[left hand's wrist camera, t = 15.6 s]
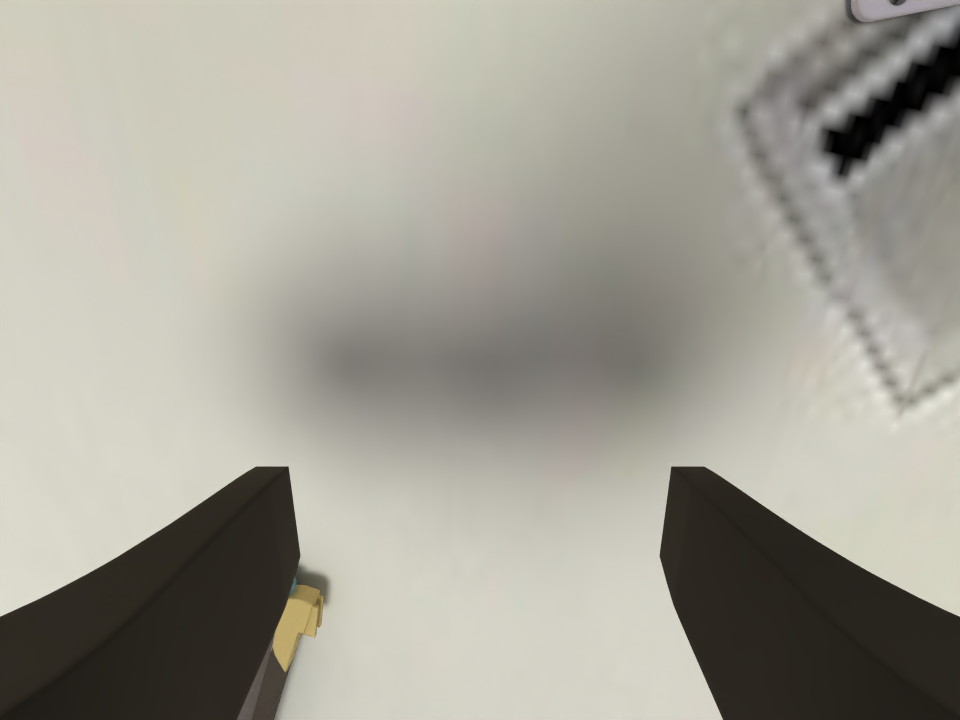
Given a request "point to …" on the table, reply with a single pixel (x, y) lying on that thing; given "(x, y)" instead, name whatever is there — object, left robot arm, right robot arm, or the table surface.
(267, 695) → the toy gun
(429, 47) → the table surface
